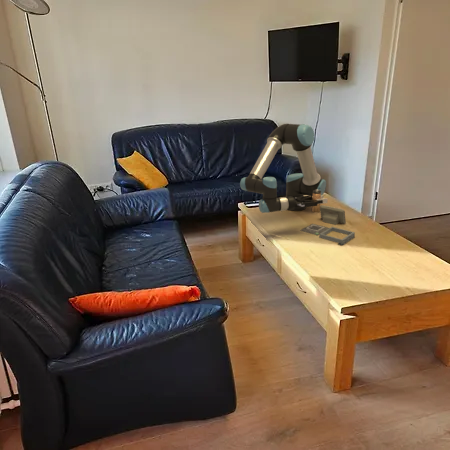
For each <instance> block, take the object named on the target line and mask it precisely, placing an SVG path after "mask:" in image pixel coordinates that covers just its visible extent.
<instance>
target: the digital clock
mask: <svg viewBox="0 0 450 450" xmlns="http://www.w3.org/2000/svg"><path fill="white" fill-rule="evenodd" d="M319 213H320V217H321V220H322V223H326V224H330V225H335V226H336V225H338V224H342V225H343V224H344V225H346V224H347V221H346V213H345V209H343V208H341V207H340V208H338V207H334V206H329V205H323V204H322V205H321V204H320V212H319Z"/></svg>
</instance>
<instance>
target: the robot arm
mask: <svg viewBox="0 0 450 450" xmlns="http://www.w3.org/2000/svg"><path fill="white" fill-rule="evenodd" d="M314 141H315V132H314V129H313V126H311V125H309V124H303V123H302V124H297V123H283V124H280V125H278V127H276V128H275V129H273V130H272V132H271V133H270V134H269V135H268V137H267V138H266V142H267V143H266V144H265V146H264V148H263V149H262V151H261V153H260V155H259V156H258V158H257V160H256V162H255V164H254V166H253V167H252V169H251V171H250V173H249V174H248V176H246V177H243V178H241V179H240V182H239V186H240V188H241V190H242V191H245V192H252V193H257V194H261V195H262V198H261V199H259V201H258V210H259V211H260V213H262V214H263V213H264V214H268V213H274V212H283V211H292V212H293V211H294V212H296V211H297V212H298V211H303V210H305V209H306V208H310V207H311V208H312V206H317V204H320V205H321V204H322V205H323V204H328V200H329V198H328V197H327V198H325V197H324V194H325V192H326V187H327V181H326V179H324V178H323V179H322V177H321V175H320V173H318V171H317V166H316V163H315V159H314V156H313V155H314V154H313V152H312V148H311V147H312V146H313V143H314ZM284 145H291V147H292V150H293V151H295V152H296V154H297V158H298V162H299V165H300V169H301V172H302V173H301V172H300V173H291V174H289V175H287V176H286V181H285V183H286V184H285V185H286V187H285V188H286V189H285V190H286V191H285V196H281V197H278V195H277V193H278V192H277V191H278V188H277V187H278V184H277V183H278V182H277V179H276V178H275V177H274V176H266V177H264V175H266V174H265V173H266V172H267V171H268V169H269V167H270V165H271V163H272V161H273V159H274V158H275V155H277V152H278V150H280V149H281V148H282V147H283V146H284ZM316 189H318V190H320V191H321V199H316V200H313V190H316Z"/></svg>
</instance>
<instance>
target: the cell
mask: <svg viewBox="0 0 450 450" xmlns="http://www.w3.org/2000/svg"><path fill="white" fill-rule="evenodd" d="M312 197H313V200H316V199H321V191H320V190H318V189H316V190H313V196H312ZM320 205H321V204H317V206H312V207H311V211H312V213H320Z"/></svg>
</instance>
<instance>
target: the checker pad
mask: <svg viewBox="0 0 450 450" xmlns="http://www.w3.org/2000/svg"><path fill="white" fill-rule="evenodd" d="M329 228H330V227H327V226H323V225H319V224H316V223H311V224H310V225H307V226H306V227H304V228H301V229H300V230H299V231H300V232H304V233H306V234H307V233H308V234H310V235H314V236H319V234H321V233H322V232H324V231H326V230H327V229H329Z"/></svg>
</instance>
